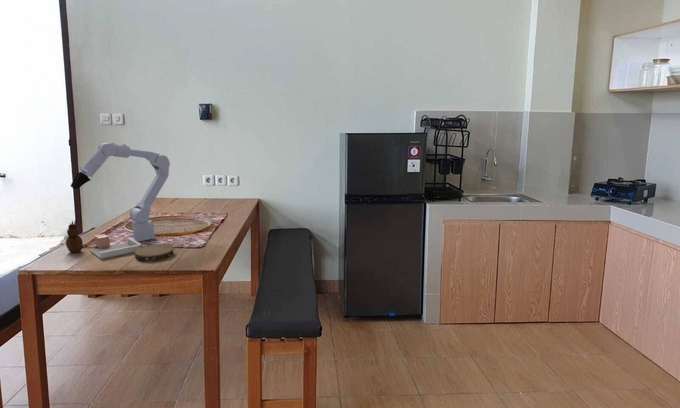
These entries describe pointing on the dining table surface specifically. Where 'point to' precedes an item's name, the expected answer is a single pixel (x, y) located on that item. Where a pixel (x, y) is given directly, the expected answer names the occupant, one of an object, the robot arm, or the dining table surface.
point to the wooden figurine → (73, 239)
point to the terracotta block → (102, 241)
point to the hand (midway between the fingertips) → (73, 187)
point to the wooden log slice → (154, 253)
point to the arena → (117, 249)
